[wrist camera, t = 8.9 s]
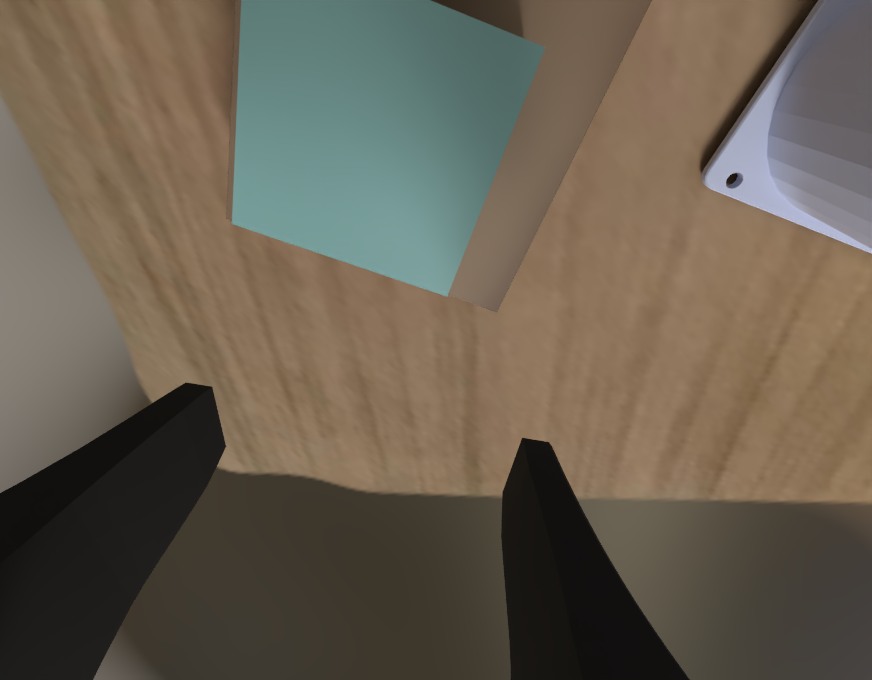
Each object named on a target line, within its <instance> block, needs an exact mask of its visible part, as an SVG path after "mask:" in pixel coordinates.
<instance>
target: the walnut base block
mask: <svg viewBox="0 0 872 680" xmlns="http://www.w3.org/2000/svg"><path fill="white" fill-rule="evenodd" d="M431 1H433V2H436V3H438V4H441V5H443V6H446V7H448V8H450V9H453V10H455V11H458V12H460V13H463V14H465V15H468V16H470V17H473V18H475V19H477V20H480V21H482V22H485V23H487V24H490V25H492V26H495V27H497V28H499V29H502V30H504V31H507V32H509V33H512V34H514V35H517V36H519V37H521V38H524V39H526V40H529V41H531V42H534V43H536V44H539V45H541V46H543V47H545V49H544V52H543V55H542V57H541V60H540V62H539V65H538V67H537V70H536V72H535V75H534V77H533V80H532V82H531V85H530V88H529V90H528V93H527V95H526V98H525V100H524V103H523V105H522V108H521V110H520V113H519V115H518V118H517V121H516V123H515V126H514V128H513V131H512V133H511V136H510V138H509V141H508V143H507V146H506V148H505V151H504V154H503V156H502V159H501V161H500V164H499V166H498V169H497V171H496V174H495V176H494V179H493V181H492V184H491V187H490V189H489V192H488V194H487V197H486V199H485V202H484V204H483V207H482V209H481V212H480V214H479V217H478V220H477V222H476V225H475V227H474V230H473V232H472V235H471V237H470V240H469V242H468V245H467V247H466V250H465V253H464V255H463V258H462V260H461V263H460V265H459V268H458V270H457V273H456V275H455V278H454V280H453V283H452V286H451V288H450V291H449V293H448V295H449V296H451V297H454V298H457V299H460V300H463V301H466V302H469V303H472V304H475V305H477V306H480V307H483V308H486V309H489V310H492V311H495V312H497V311H498V309H499V307H500V305H501V303H502V301H503V299H504V297H505V295H506V293H507V291H508V289H509V287H510V285H511V283H512V281H513V279H514V277H515V275H516V273H517V271H518V269H519V267H520V265H521V263H522V261H523V259H524V257H525V255H526V253H527V251H528V249H529V246H530V244H531V242H532V240H533V238H534V236H535V234H536V232H537V230H538V228H539V226H540V224H541V222H542V220H543V218H544V216H545V214H546V212H547V210H548V208H549V206H550V204H551V202H552V200H553V198H554V196H555V194H556V192H557V190H558V188H559V186H560V184H561V182H562V180H563V178H564V176H565V174H566V172H567V170H568V168H569V166H570V164H571V162H572V160H573V158H574V156H575V154H576V152H577V150H578V148H579V146H580V144H581V142H582V140H583V138H584V136H585V134H586V132H587V130H588V128H589V126H590V124H591V122H592V120H593V118H594V116H595V114H596V112H597V110H598V108H599V106H600V104H601V102H602V100H603V98H604V96H605V94H606V92H607V90H608V88H609V85H610V83H611V81H612V79H613V77H614V75H615V73H616V71H617V69H618V67H619V65H620V63H621V61H622V59H623V57H624V55H625V53H626V51H627V49H628V47H629V45H630V43H631V41H632V39H633V37H634V35H635V33H636V31H637V29H638V27H639V25H640V23H641V21H642V19H643V17H644V15H645V13H646V11H647V9H648V7H649V5H650V3H651V1H652V0H431ZM240 18H241V0H235V21H234V45H233V69H232V93H231V117H230V141H229V165H228V189H227V213H226V219H229V220H232V210H233V186H234V162H235V138H236V114H237V90H238V66H239V42H240Z"/></svg>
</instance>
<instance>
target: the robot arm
mask: <svg viewBox="0 0 872 680" xmlns="http://www.w3.org/2000/svg"><path fill="white" fill-rule="evenodd" d="M734 173H737V175H738V177H737V179H736V181H735V182H734V183H733V184H730V185H728V186H727V185H726V180H727V178H728V177H729V176H730V175H731V174H734ZM701 180H702V182H703V184H704V185H706V186H707V187H708V188H710V189H712V190H714V191H717V192H719V193H722V194H724V195H727V196H729V197H732V198H734V199H737V200H739V201H742V202H744V203H747V204H749V205H752V206H754V207H757V208H759V209H762V210H764V211H767V212H769V213H772V214H774V215H777V216H779V217H782V218H784V219H787V220H789V221H792V222H794V223H797V224H799V225H802V226H804V227H807V228H809V229H812V230H814V231H817V232H819V233H822V234H824V235H827V236H829V237H832V238H834V239H837V240H839V241H842V242H844V243H847V244H849V245H852V246H854V247H857V248H859V249H862V250H864V251H867V252H869V253H872V0H818V1H817V3H816V4H815V6H814V7H813V9H812V10H811V12H810V13H809V15H808V16H807V18H806V19H805V20H804V22H803V23H802V25H801V26H800V28H799V29H798V31H797V32H796V34H795V35H794V37H793V38H792V40H791V41H790V43H789V44H788V46H787V47H786V48H785V50H784V51H783V53H782V54H781V56H780V57H779V59H778V60H777V62H776V63H775V65H774V66H773V68H772V69H771V71H770V72H769V74H768V75H767V76H766V78H765V79H764V81H763V82H762V84H761V85H760V87H759V88H758V90H757V91H756V93H755V94H754V96H753V97H752V99H751V100H750V102H749V103H748V104H747V106H746V107H745V109H744V110H743V112H742V113H741V115H740V116H739V118H738V119H737V121H736V122H735V124H734V125H733V127H732V128H731V130H730V131H729V132H728V134H727V135H726V137H725V138H724V140H723V141H722V143H721V144H720V146H719V147H718V149H717V150H716V152H715V153H714V155H713V156H712V158H711V159H710V160H709V162H708V163H707V165H706V166H705V168H704V170H703V172H702V178H701ZM225 447H226V445H225V441H224V436H223V432H222V428H221V423H220V419H219V415H218V410H217V406H216V402H215V398H214V393H213V389H212V387H210V386H204V385H197V384H191V383H185V384H183V385H181V386H180V387H178V388H176V389H175V390H173V391H171V392H170V393H168V394H166V395H165V396H163V397H162V398H160V399H158V400H157V401H155V402H154V403H152V404H151V405H149V406H147V407H146V408H144V409H143V410H141V411H139V412H138V413H137V414H135V415H133V416H132V417H130V418H128V419H127V420H125V421H124V422H122V423H120V424H119V425H117V426H115V427H114V428H112V429H111V430H109V431H107V432H106V433H104V434H103V435H101V436H99V437H98V438H96V439H95V440H93V441H91V442H90V443H88V444H86V445H85V446H83V447H81V448H80V449H78V450H76V451H74V452H73V453H71V454H69V455H68V456H66V457H64V458H63V459H60V460H59V461H57V462H55V463H53V464H52V465H50V466H48V467H47V468H45V469H43V470H41V471H40V472H38V473H36V474H34V475H32V476H31V477H29V478H27V479H26V480H24V481H22V482H20V483H19V484H17V485H15V486H13V487H11V488H9V489H7V490H5V491H3V492H2V493H0V680H93V678H94V676H95V674H96V672H97V670H98V668H99V666H100V664H101V662H102V660H103V658H104V656H105V654H106V653H107V650H108V649H109V647H110V644H111V643H112V641H113V639H114V637H115V636H116V634H117V632H118V630H119V628H120V626H121V624H122V622H123V620H124V619H125V617H126V614H127V613H128V611H129V609H130V607H131V605H132V604H133V602H134V600H135V599H136V597H137V595H138V593H139V592H140V590H141V588H142V586H143V585H144V583H145V582H146V580H147V579H148V577H149V575H150V574H151V573H152V571H153V569H154V568H155V566H156V565H157V563H158V562H159V560H160V558H161V557H162V555H163V554H164V552H165V551H166V549H167V548H168V546H169V545H170V543H171V542H172V540H173V539H174V537H175V535H176V534H177V532H178V531H179V529H180V528H181V526H182V524H183V523H184V522H185V520H186V518H187V517H188V515H189V514H190V512H191V511H192V509H193V507H194V506H195V504H196V503H197V501H198V499H199V498H200V496H201V495H202V493H203V492H204V490H205V488H206V487H207V485H208V483H209V481H210V479H211V477H212V475H213V473H214V471H215V469H216V467H217V465H218V462H219V460H220V458H221V456H222V454H223V452H224V449H225ZM501 537H502V551H503V565H504V577H505V589H506V602H507V614H508V626H509V639H510V660H511V680H690V679H689V678H688V677H687V675H686V674H685V672H684V671H683V670H682V668H681V667H680V666H679V664H678V663H677V662H676V660H675V659H674V657H673V656H672V655H671V653H670V652H669V650H668V649H667V648H666V646H665V645H664V643H663V642H662V640H661V639H660V637H659V636H658V635H657V633H656V632H655V630H654V629H653V627H652V626H651V624H650V623H649V621H648V620H647V618H646V617H645V615H644V614H643V612H642V611H641V609H640V608H639V606H638V605H637V603H636V602H635V600H634V598H633V597H632V595H631V594H630V592H629V591H628V589H627V587H626V586H625V584H624V582H623V581H622V579H621V578H620V576H619V574H618V572H617V571H616V569H615V567H614V566H613V564H612V562H611V561H610V559H609V557H608V556H607V554H606V552H605V551H604V549H603V547H602V545H601V543H600V542H599V540H598V538H597V536H596V534H595V532H594V531H593V529H592V527H591V525H590V523H589V521H588V519H587V518H586V516H585V514H584V512H583V510H582V508H581V506H580V505H579V502H578V500H577V498H576V496H575V494H574V492H573V490H572V488H571V486H570V484H569V482H568V480H567V478H566V476H565V474H564V472H563V470H562V468H561V465H560V463H559V461H558V459H557V457H556V455H555V452H554V450H553V448H552V446H551V445H550V443H549V442H544V441H538V440H532V439H526V438H522V440H521V443H520V446H519V448H518V451H517V454H516V457H515V460H514V462H513V465H512V468H511V471H510V473H509V476H508V479H507V482H506V485H505V487H504V490H503V498H502V533H501Z"/></svg>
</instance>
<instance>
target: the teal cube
mask: <svg viewBox="0 0 872 680" xmlns="http://www.w3.org/2000/svg"><path fill="white" fill-rule="evenodd" d="M544 49H545V47H543V46H541V45H539V44H536V43H534V42H531V41H529V40H526V39H524V38H521V37H519V36H517V35H514V34H512V33H509V32H507V31H504V30H502V29H499V28H497V27H495V26H492V25H490V24H487V23H485V22H482V21H480V20H477V19H475V18H473V17H470V16H468V15H465V14H463V13H460V12H458V11H455V10H453V9H450V8H448V7H446V6H443V5H441V4H438V3H436V2H433V1H431V0H241V18H240V42H239V66H238V90H237V114H236V138H235V162H234V186H233V210H232V224H234V225H237V226H240V227H243V228H246V229H249V230H251V231H254V232H257V233H260V234H263V235H266V236H269V237H272V238H275V239H278V240H281V241H284V242H287V243H290V244H293V245H296V246H299V247H302V248H305V249H308V250H311V251H314V252H317V253H319V254H322V255H325V256H328V257H331V258H334V259H337V260H340V261H343V262H346V263H349V264H352V265H355V266H358V267H361V268H364V269H367V270H370V271H373V272H376V273H379V274H382V275H385V276H388V277H390V278H393V279H396V280H399V281H402V282H405V283H408V284H411V285H414V286H417V287H420V288H423V289H426V290H429V291H432V292H435V293H438V294H441V295H444V296H448V293H449V291H450V288H451V286H452V283H453V280H454V278H455V275H456V273H457V270H458V268H459V265H460V263H461V260H462V258H463V255H464V253H465V250H466V247H467V245H468V242H469V240H470V237H471V235H472V232H473V230H474V227H475V225H476V222H477V220H478V217H479V214H480V212H481V209H482V207H483V204H484V202H485V199H486V197H487V194H488V192H489V189H490V187H491V184H492V181H493V179H494V176H495V174H496V171H497V169H498V166H499V164H500V161H501V159H502V156H503V154H504V151H505V148H506V146H507V143H508V141H509V138H510V136H511V133H512V131H513V128H514V126H515V123H516V121H517V118H518V115H519V113H520V110H521V108H522V105H523V103H524V100H525V98H526V95H527V93H528V90H529V88H530V85H531V82H532V80H533V77H534V75H535V72H536V70H537V67H538V65H539V62H540V60H541V57H542V55H543V52H544Z"/></svg>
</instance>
